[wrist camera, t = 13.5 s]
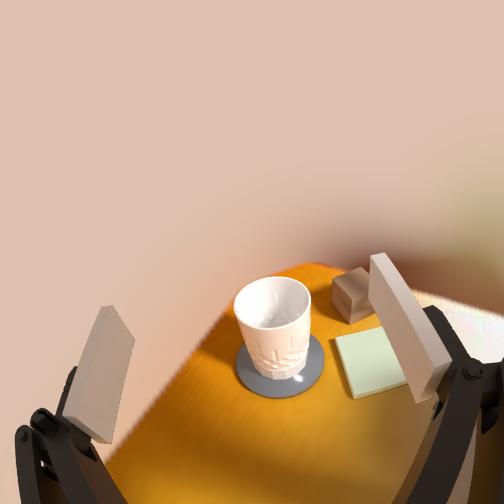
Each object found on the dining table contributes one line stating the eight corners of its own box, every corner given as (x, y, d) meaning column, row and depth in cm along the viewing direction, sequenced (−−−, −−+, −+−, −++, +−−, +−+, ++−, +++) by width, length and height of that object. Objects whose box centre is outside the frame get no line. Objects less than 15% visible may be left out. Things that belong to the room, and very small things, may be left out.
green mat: (396, 327, 37) (397, 322, 36) (421, 378, 29) (423, 374, 29) (335, 342, 37) (335, 337, 37) (353, 399, 30) (354, 395, 29)
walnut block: (358, 292, 44) (361, 266, 42) (377, 311, 40) (381, 285, 37) (331, 304, 43) (332, 278, 40) (349, 325, 39) (352, 299, 36)
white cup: (245, 342, 39) (229, 285, 33) (302, 329, 39) (298, 269, 34) (254, 391, 32) (237, 337, 27) (320, 375, 32) (321, 317, 27)
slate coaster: (314, 323, 41) (314, 319, 40) (332, 389, 31) (333, 385, 31) (236, 336, 41) (235, 332, 40) (239, 404, 32) (237, 401, 31)
